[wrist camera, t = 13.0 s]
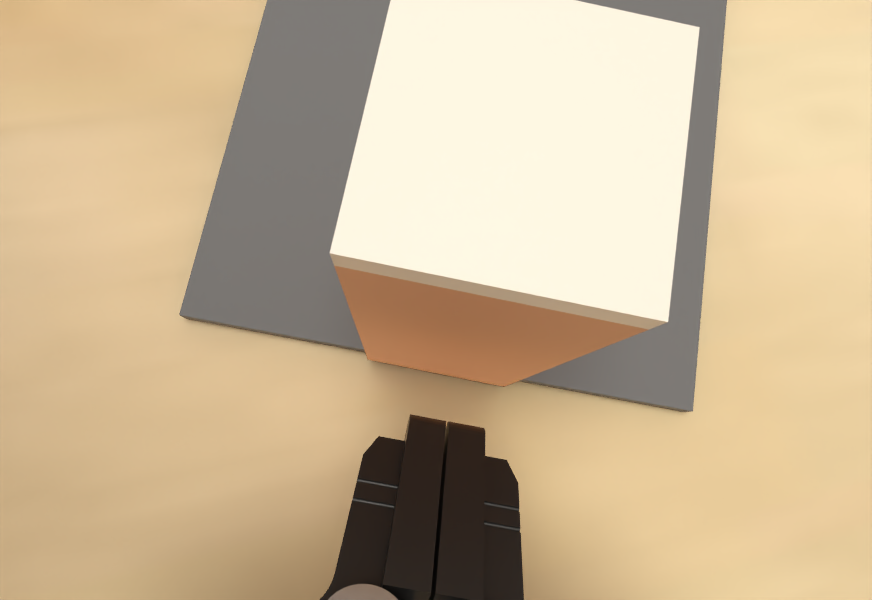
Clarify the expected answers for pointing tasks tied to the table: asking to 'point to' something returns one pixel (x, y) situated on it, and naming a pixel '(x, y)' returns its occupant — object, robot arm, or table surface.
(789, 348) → the table surface
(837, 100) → the table surface
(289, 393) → the table surface
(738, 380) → the table surface
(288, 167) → the charcoal mat
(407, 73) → the terracotta block
